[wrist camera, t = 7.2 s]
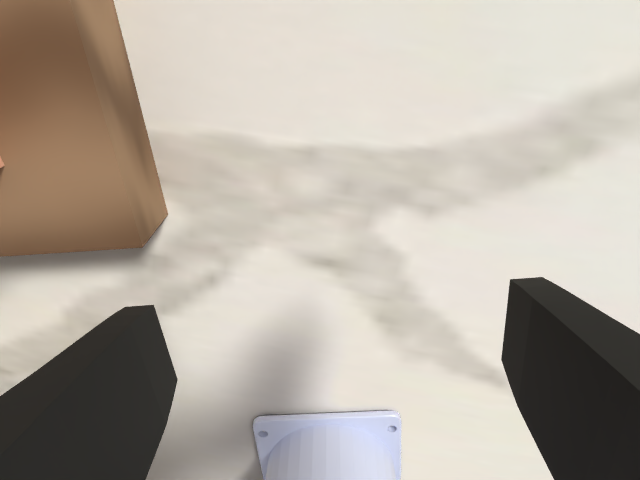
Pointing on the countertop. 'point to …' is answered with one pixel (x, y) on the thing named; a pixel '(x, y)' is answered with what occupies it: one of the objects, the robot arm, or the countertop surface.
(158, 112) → the countertop surface
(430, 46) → the countertop surface
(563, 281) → the countertop surface
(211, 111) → the countertop surface
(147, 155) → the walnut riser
